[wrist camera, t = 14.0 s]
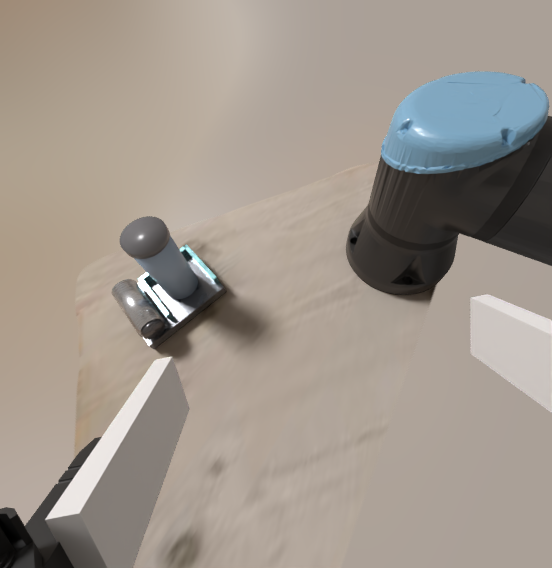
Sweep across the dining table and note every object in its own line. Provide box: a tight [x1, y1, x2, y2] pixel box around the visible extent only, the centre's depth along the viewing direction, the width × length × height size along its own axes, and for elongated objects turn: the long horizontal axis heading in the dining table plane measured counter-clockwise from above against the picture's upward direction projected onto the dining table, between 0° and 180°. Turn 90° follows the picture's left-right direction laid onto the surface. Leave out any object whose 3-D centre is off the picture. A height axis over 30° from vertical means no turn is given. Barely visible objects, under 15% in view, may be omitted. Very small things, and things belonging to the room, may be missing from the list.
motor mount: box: [112, 245, 226, 349], centre depth 42 cm, size 13×10×5 cm
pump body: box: [120, 217, 198, 299], centre depth 39 cm, size 5×5×12 cm
